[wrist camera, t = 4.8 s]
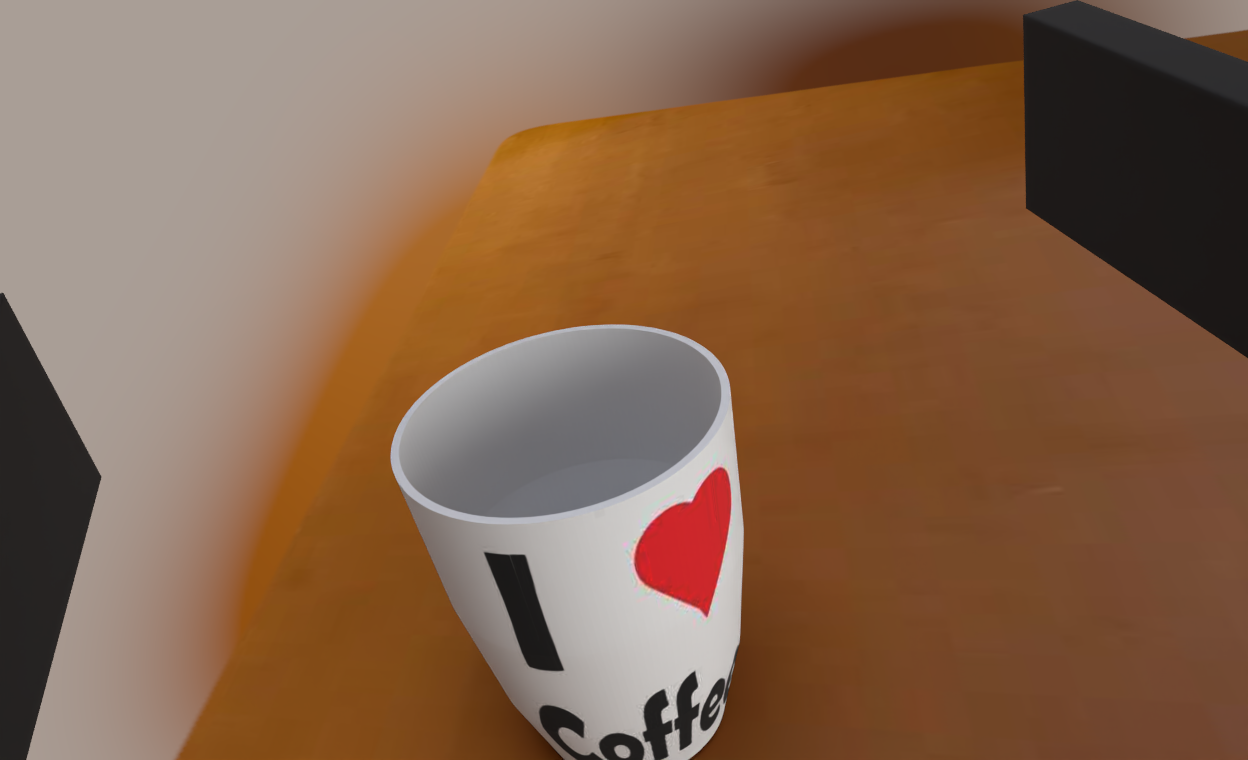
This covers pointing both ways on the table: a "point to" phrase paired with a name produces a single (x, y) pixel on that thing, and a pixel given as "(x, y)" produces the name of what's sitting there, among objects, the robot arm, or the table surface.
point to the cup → (589, 531)
